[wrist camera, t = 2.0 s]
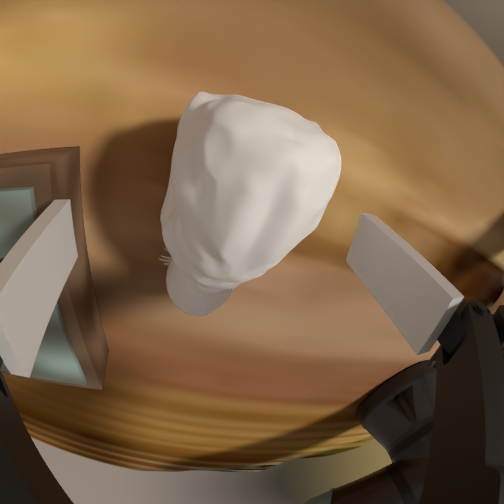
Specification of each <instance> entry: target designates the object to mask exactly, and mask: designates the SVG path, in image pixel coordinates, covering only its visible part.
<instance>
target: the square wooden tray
mask: <svg viewBox="0 0 504 504" xmlns="http://www.w3.org/2000/svg"><path fill="white" fill-rule="evenodd" d="M62 199H70V203H71V212H72V220H73V228H74V235H75V242H76V248H77V254H78V258H77V260H76V262H75V264H74V266H73V268H72V270H71V272H70V274H69V276H68V278H67V280H66V283H65V285H64V287H63V289H62V291H61V294H60V296H59V298H58V301H57V303H56V305H55V308H54V310H53V313H52V315H51V318H50V320H49V323H48V325H47V328H46V330H45V333H44V336H43V339H42V341H41V344H40V347H39V350H38V353H37V356H36V359H35V362H34V365H33V369H32V372H31V375H30V378H28V377H23V376H18V375H14V374H11V373H10V372H9V370H8V369H7V367H6V366H5V364H4V362H3V363H2V366H1V369H0V372H1V373H5V374H9V375H13V376H18V377H22V378H27V379H32V380H37V381H42V382H48V383H54V384H60V385H67V386H74V387H82V388H91V389H101V390H103V384H104V377H105V370H106V364H107V358H108V352H109V349H108V346H107V342H106V338H105V335H104V331H103V327H102V323H101V319H100V315H99V311H98V306H97V302H96V297H95V292H94V287H93V282H92V277H91V271H90V265H89V259H88V253H87V246H86V238H85V230H84V221H83V211H82V199H81V183H80V146H78V147H62V148H50V149H39V150H30V151H21V152H13V153H6V154H0V259H1V258H5V256H6V255H7V254H8V253H9V251H10V250H11V249H12V248H13V246H14V245H15V244H16V243H17V241H18V240H19V239H20V238H21V237H22V235H23V234H24V233H25V232H26V231H27V229H28V228H29V227H30V226H31V225H32V224H33V223H34V221H35V220H36V219H37V218H38V217H39V216H40V215H41V214H42V213H43V212H44V211H45V209H46V208H47V207H48V206H49V205H50V204H51V203H52V202H53V201H54V200H62Z"/></svg>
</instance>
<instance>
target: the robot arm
mask: <svg viewBox="0 0 504 504" xmlns="http://www.w3.org/2000/svg"><path fill="white" fill-rule="evenodd" d="M77 258H78V254H77V248H76V242H75V235H74V228H73V220H72V212H71V203H70V199H62V200H54V201H53V202H52V203H51V204H50V205H49V206H48V207H47V208H46V209H45V211H44V212H43V213H42V214H41V215H40V216H39V217H38V218H37V219H36V220H35V221H34V223H33V224H32V225H31V226H30V227H29V228H28V229H27V231H26V232H25V233H24V234H23V235H22V237H21V238H20V239H19V240H18V241H17V243H16V244H15V245H14V246H13V248H12V249H11V250H10V251H9V253H8V254H7V255H6V256H5V258H1V259H0V369H1V366H2V363H3V362H4V364H5V366H6V367H7V369H8V370H9V372H10V373H11V374H14V375H18V376H23V377H28V378H30V375H31V372H32V369H33V365H34V362H35V359H36V356H37V353H38V350H39V347H40V344H41V341H42V339H43V336H44V333H45V330H46V328H47V325H48V323H49V320H50V318H51V315H52V313H53V310H54V308H55V305H56V303H57V301H58V298H59V296H60V294H61V291H62V289H63V287H64V285H65V283H66V280H67V278H68V276H69V274H70V272H71V270H72V268H73V266H74V264H75V262H76V260H77ZM346 262H347V263H348V264H349V266H350V267H351V268H352V269H353V271H354V272H355V273H356V274H357V276H358V277H359V278H360V279H361V281H362V282H363V283H364V284H365V286H366V287H367V288H368V290H369V291H370V292H371V293H372V295H373V296H374V297H375V299H376V300H377V301H378V302H379V304H380V305H381V306H382V308H383V309H384V310H385V312H386V313H387V314H388V316H389V317H390V318H391V320H392V321H393V322H394V324H395V325H396V326H397V328H398V329H399V331H400V332H401V333H402V335H403V336H404V337H405V339H406V340H407V342H408V343H409V344H410V346H411V347H412V349H413V350H414V351H415V353H416V354H417V355H419V354H422V353H425V352H428V351H430V349H431V348H432V347H433V345H434V344H435V342H436V341H437V340H438V341H439V343H440V344H441V345H440V346H439V348H438V349H437V351H436V352H435V353H434V355H433V356H432V357H431V359H430V360H429V361H424V362H421V363H419V364H416V365H414V366H412V367H410V368H408V369H406V370H404V371H403V372H401V373H399V374H398V375H396V376H395V377H393V378H392V379H390V380H389V381H387V382H386V383H384V384H383V385H382V386H380V387H379V388H378V389H377V390H375V391H374V392H373V393H372V394H371V395H370V396H369V397H368V398H367V399H366V400H365V401H364V402H363V403H362V404H361V406H360V407H359V409H358V411H357V417H358V419H359V421H360V423H361V425H362V427H363V428H364V429H366V430H367V431H368V432H369V433H370V434H371V435H372V436H373V437H374V438H375V439H376V440H377V441H378V442H379V443H380V444H381V445H382V446H383V447H384V448H385V449H386V450H387V452H388V454H389V456H390V458H391V460H392V464H390V465H388V466H386V467H384V468H382V469H380V470H378V471H376V472H373V473H371V474H369V475H367V476H365V477H363V478H360V479H358V480H355V481H353V482H351V483H348V484H346V485H343V486H341V487H338V488H333V489H331V490H330V491H328V492H325V493H323V494H320V495H318V496H315V497H312V498H310V499H309V500H308V501H306V503H305V504H504V354H503V352H502V347H503V345H504V305H500V306H499V307H498V309H497V310H496V312H495V314H491V312H490V310H489V309H488V308H487V307H486V306H485V305H484V304H482V303H480V302H478V301H476V300H470V301H468V303H466V302H465V300H464V299H463V297H464V296H463V295H462V294H461V293H460V292H459V291H458V290H457V289H456V288H455V287H454V286H453V285H452V284H451V283H450V282H449V281H448V280H447V279H446V278H445V277H444V276H443V275H442V274H441V273H440V272H439V271H438V270H437V269H435V268H434V267H433V266H432V265H431V264H430V263H429V262H428V261H427V260H426V259H425V258H424V257H423V256H422V255H420V254H419V253H418V252H417V251H416V250H415V249H414V248H413V247H412V246H410V245H409V244H408V243H407V242H406V241H405V240H404V239H402V238H401V237H400V236H399V235H398V234H397V233H395V232H394V231H393V230H392V229H391V228H390V227H388V226H387V225H386V224H385V223H384V222H382V221H381V220H380V219H379V218H377V217H376V216H375V215H374V214H368V213H361V216H360V219H359V222H358V225H357V228H356V231H355V235H354V238H353V241H352V244H351V247H350V250H349V252H348V255H347V258H346ZM0 504H74V503H73V502H72V501H71V500H70V498H69V497H68V496H67V494H66V493H65V492H64V490H63V489H62V487H61V486H60V485H59V483H58V481H57V480H56V479H55V477H54V476H53V474H52V472H51V471H50V470H49V468H48V466H47V465H46V463H45V461H44V460H43V458H42V457H41V455H40V453H39V451H38V450H37V448H36V446H35V444H34V442H33V441H32V439H31V437H30V435H29V433H28V431H27V429H26V427H25V425H24V423H23V421H22V419H21V417H20V415H19V413H18V410H17V408H16V406H15V404H14V401H13V399H12V397H11V394H10V392H9V389H8V387H7V384H6V382H5V379H4V377H3V375H2V374H1V372H0Z"/></svg>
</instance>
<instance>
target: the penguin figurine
mask: <svg viewBox="0 0 504 504" xmlns="http://www.w3.org/2000/svg"><path fill="white" fill-rule="evenodd" d="M340 172H341V156H340V152H339V148H338V146H337V144H336V142H335V140H333V139H332V138H331V137H329V136H328V135H326V134H325V133H324V132H323V131H322V130H321V128H320V127H319V126H318V124H317V123H316V122H313V121H309V120H306V119H304V118H303V117H302V116H300V115H299V114H297V113H296V112H294V111H292V110H290V109H288V108H285V107H282V106H279V105H276V104H272V103H267V102H262V101H258V100H254V99H251V98H248V97H245V96H241V95H216V94H209V93H206V92H198V93H197V94H196V95H195V96H194V97H193V98H192V100H191V101H190V103H189V104H188V106H187V108H186V110H185V111H184V113H183V114H182V116H181V118H180V121H179V124H178V129H177V138H176V142H175V145H174V149H173V154H172V163H171V172H170V178H169V184H168V189H167V193H166V197H165V200H164V203H163V206H162V210H161V216H160V221H161V225H162V236H163V240H164V243H165V246H166V247H167V249H168V250H167V249H165V248H164V247H163V248H164V249H165V250H166V251H167V252H169V253H170V255H171V257H166V256H162V255H160V256H162V257H164V258H167V259H168V260H164V259H159V258H158V259H159V260H162V261H165V262H170V263H163V264H165V265H169V267H168V270H167V276H166V285H167V291H168V294H169V296H170V298H171V300H172V301H173V302H174V304H175V305H176V306H177V307H178V308H179V309H181V310H182V311H183V312H185V313H187V314H189V315H193V316H204V315H207V314H209V313H211V312H213V311H214V310H216V309H217V308H219V307H220V306H221V305H222V304H223V303H224V302H225V301H226V300H227V299H228V297H229V296H230V294H231V292H232V289H233V288H236V287H238V286H239V285H240V284H241V283H243V282H246V281H249V280H251V279H254V278H257V277H259V276H261V275H263V274H264V273H265V272H266V271H267V270H268V269H270V268H272V267H273V266H275V265H276V264H277V263H279V262H280V261H281V260H282V259H283V257H284V256H285V255H286V254H287V253H288V252H289V251H291V250H292V249H293V248H294V247H295V246H296V245H297V244H298V243H299V242H300V241H302V240H303V239H304V238H305V237H306V236H307V235H309V234H310V233H311V232H312V231H314V230H315V229H316V227H317V226H318V224H319V222H320V220H321V217H322V215H323V213H324V211H325V209H326V206H327V204H328V202H329V200H330V199H331V197H332V195H333V192H334V190H335V187H336V185H337V182H338V180H339V176H340Z"/></svg>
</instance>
